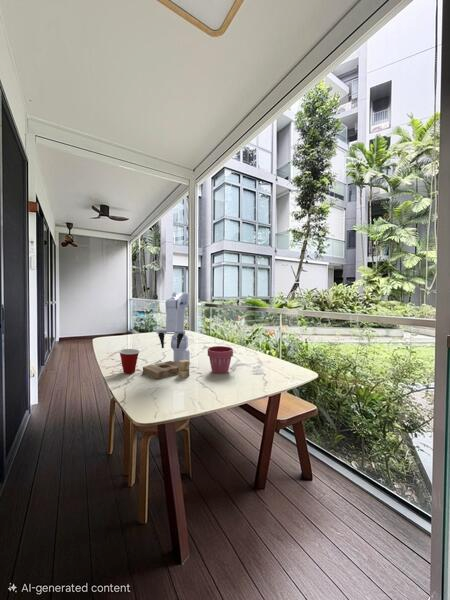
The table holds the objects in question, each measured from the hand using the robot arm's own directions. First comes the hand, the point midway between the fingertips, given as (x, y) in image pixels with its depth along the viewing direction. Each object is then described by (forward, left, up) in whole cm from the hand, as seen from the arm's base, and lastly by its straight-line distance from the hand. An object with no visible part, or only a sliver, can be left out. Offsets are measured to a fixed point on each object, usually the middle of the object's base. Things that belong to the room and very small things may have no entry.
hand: (170, 348), depth 134 cm
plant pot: (-26, +10, -16) cm, 32 cm away
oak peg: (-7, +2, -15) cm, 17 cm away
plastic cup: (+10, -24, -15) cm, 30 cm away
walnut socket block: (-3, -10, -15) cm, 18 cm away
